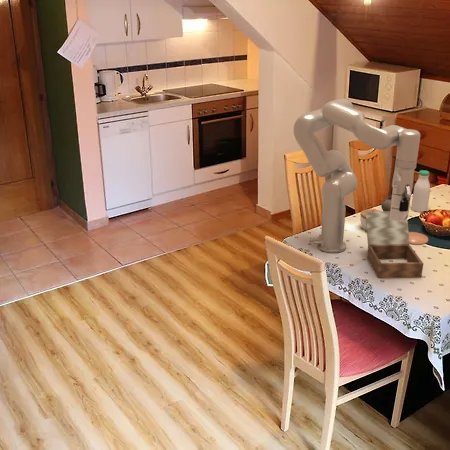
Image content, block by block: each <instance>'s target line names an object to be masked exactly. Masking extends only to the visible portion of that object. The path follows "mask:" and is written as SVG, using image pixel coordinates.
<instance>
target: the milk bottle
mask: <svg viewBox="0 0 450 450" xmlns="http://www.w3.org/2000/svg"><path fill="white" fill-rule="evenodd" d="M429 177H430V171H428V170H423V169H421V170H419V172H418V179H417V180H416V182H415V184H414V185H413V186H414V187H413V190H412V192H413V193H412V199H411V210H412V211H413V212H417V213H424V212H423V211H426V212H428V209H429V203H430V202H429V200H430V193H431V185H430V181H429Z"/></svg>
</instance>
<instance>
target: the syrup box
mask: <svg viewBox="0 0 450 450" xmlns="http://www.w3.org/2000/svg"><path fill="white" fill-rule="evenodd" d="M396 189H397V184H394V185H393V188H392V193H391V195H392V201H391V210H390V219H391V220H394V221H399V222H404V221H405V220H406V219H407V220H408V218H409V212H410V204H411V200H410V201H409V206H408V211H403V212H400V211H399V207H400V201H401V195H398V194H397V193H396ZM403 193H406V190H405V192H403ZM404 197H406V195H404Z"/></svg>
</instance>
